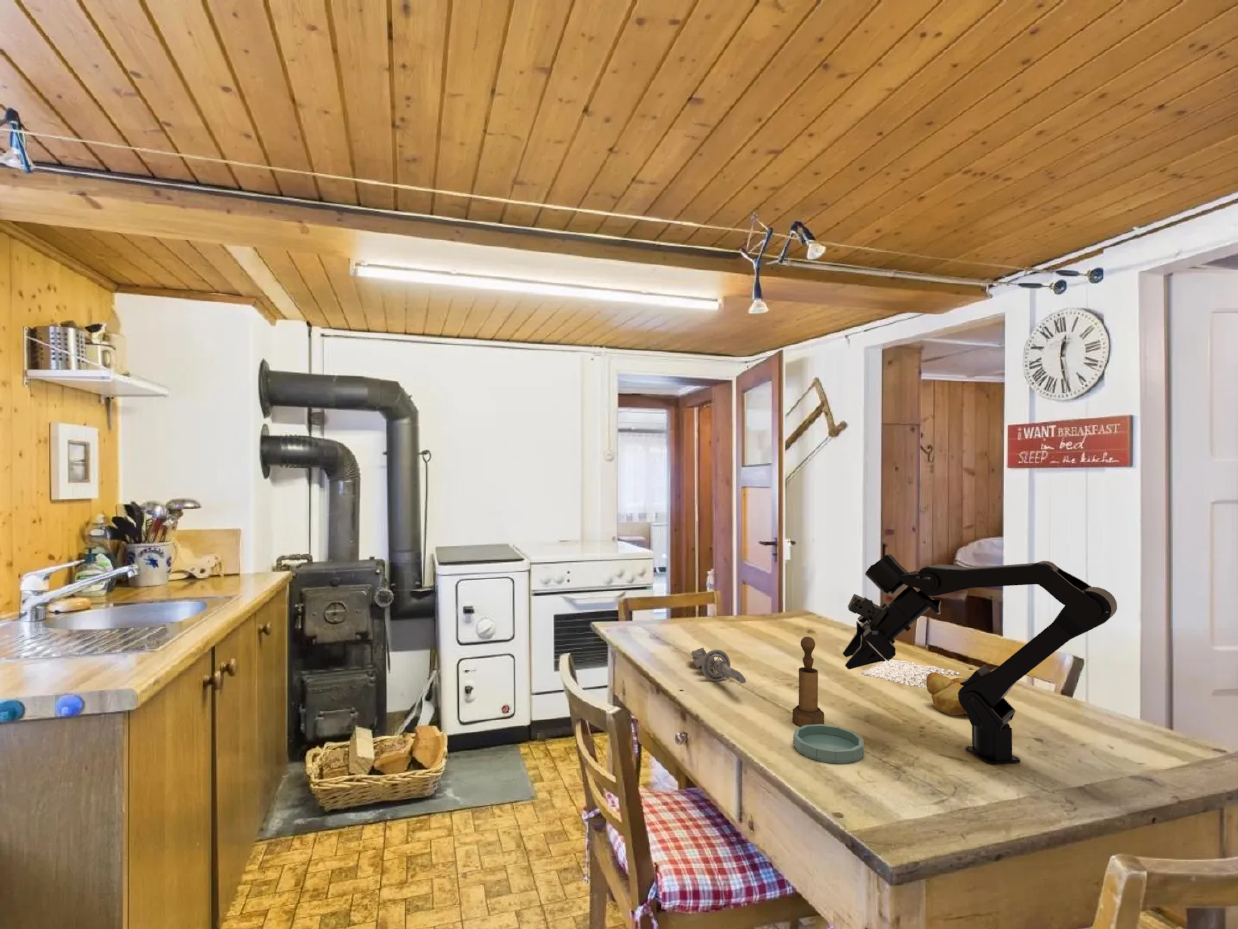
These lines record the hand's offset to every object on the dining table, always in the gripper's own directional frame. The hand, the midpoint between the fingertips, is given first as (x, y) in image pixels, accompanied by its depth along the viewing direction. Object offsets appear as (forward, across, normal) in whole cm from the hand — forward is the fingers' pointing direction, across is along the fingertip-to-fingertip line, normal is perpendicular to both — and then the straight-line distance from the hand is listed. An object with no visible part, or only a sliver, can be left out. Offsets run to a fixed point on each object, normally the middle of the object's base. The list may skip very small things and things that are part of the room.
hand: (845, 661), depth 130 cm
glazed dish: (+12, +13, +7) cm, 19 cm away
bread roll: (-8, -18, +28) cm, 34 cm away
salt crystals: (-3, -43, +23) cm, 49 cm away
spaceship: (+31, -22, -12) cm, 40 cm away
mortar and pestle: (+15, 0, +4) cm, 16 cm away
